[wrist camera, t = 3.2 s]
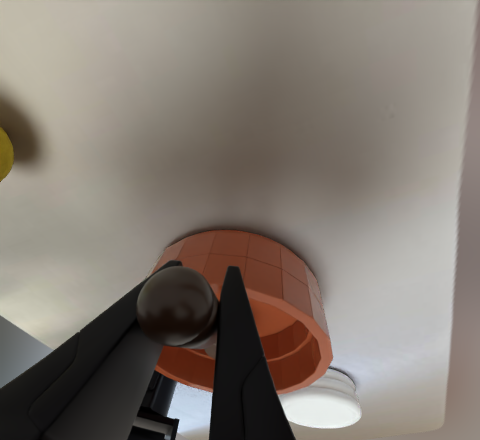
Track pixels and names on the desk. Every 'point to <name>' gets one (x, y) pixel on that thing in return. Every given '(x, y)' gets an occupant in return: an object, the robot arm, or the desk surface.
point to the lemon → (5, 154)
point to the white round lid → (323, 402)
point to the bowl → (256, 308)
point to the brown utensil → (179, 310)
